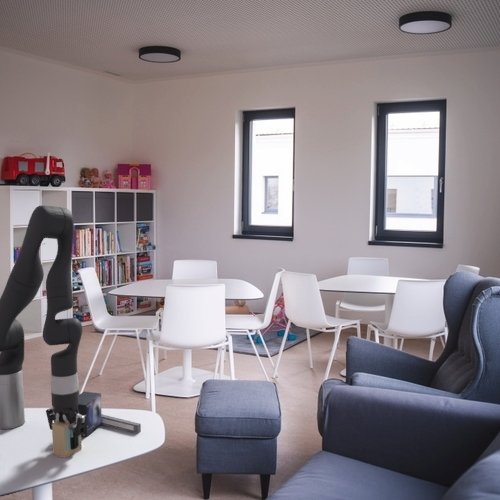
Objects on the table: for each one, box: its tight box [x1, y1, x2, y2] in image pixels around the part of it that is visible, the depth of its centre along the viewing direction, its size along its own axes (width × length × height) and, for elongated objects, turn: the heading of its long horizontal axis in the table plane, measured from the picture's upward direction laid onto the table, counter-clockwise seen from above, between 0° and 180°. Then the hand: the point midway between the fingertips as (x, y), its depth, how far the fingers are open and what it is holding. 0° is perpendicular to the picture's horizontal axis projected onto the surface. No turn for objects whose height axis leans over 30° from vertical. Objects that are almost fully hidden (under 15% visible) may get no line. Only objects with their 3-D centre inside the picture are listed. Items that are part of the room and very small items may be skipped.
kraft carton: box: [51, 422, 82, 459], centre depth 187 cm, size 5×6×9 cm
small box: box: [78, 391, 103, 438], centre depth 202 cm, size 11×6×10 cm, turn 166°
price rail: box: [101, 413, 142, 434], centre depth 206 cm, size 22×2×2 cm, turn 60°
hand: (67, 446), depth 187 cm, fingers closed on kraft carton, 4 cm apart
